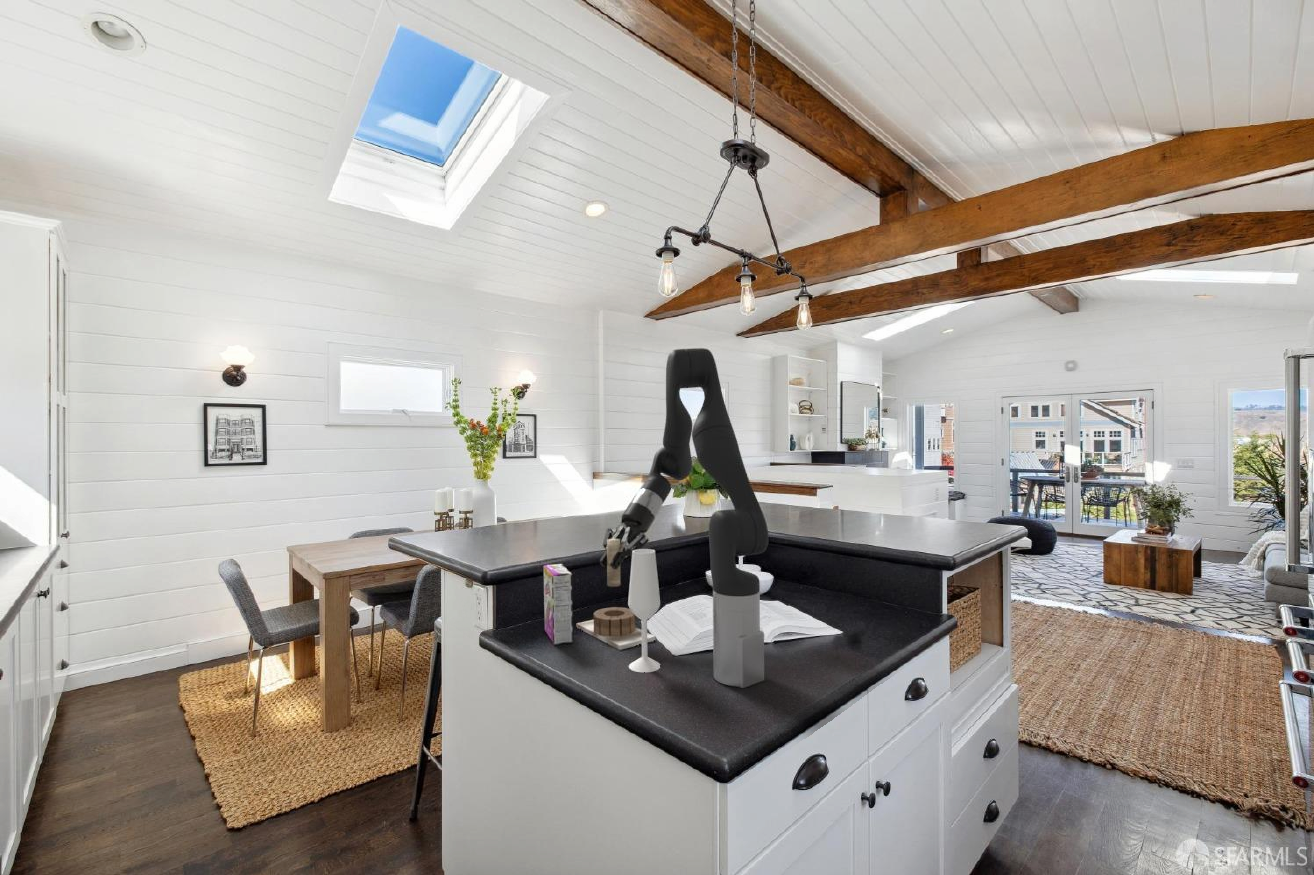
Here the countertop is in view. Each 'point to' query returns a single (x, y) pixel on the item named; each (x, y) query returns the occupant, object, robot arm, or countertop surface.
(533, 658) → the countertop surface
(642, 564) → the champagne flute
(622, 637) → the gear board
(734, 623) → the robot arm
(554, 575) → the candy bar box
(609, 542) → the wooden dowel peg
